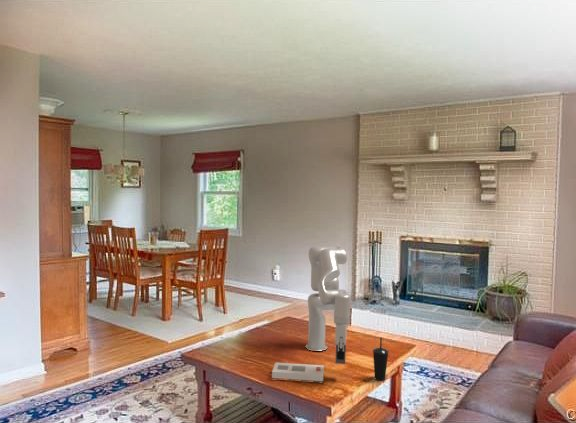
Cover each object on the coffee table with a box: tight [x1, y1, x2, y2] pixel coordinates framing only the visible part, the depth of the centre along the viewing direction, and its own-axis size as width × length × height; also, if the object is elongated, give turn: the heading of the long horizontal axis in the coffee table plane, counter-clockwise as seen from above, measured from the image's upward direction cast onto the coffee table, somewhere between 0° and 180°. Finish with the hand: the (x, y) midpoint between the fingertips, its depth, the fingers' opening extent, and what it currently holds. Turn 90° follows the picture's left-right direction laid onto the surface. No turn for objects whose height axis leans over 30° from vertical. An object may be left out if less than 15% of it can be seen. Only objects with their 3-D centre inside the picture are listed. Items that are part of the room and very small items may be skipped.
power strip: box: [271, 362, 325, 383], centre depth 218 cm, size 12×24×5 cm, turn 84°
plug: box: [335, 343, 347, 365], centre depth 216 cm, size 4×4×9 cm
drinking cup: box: [372, 336, 390, 382], centre depth 218 cm, size 8×8×20 cm
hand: (340, 356), depth 216 cm, fingers closed on plug, 4 cm apart
